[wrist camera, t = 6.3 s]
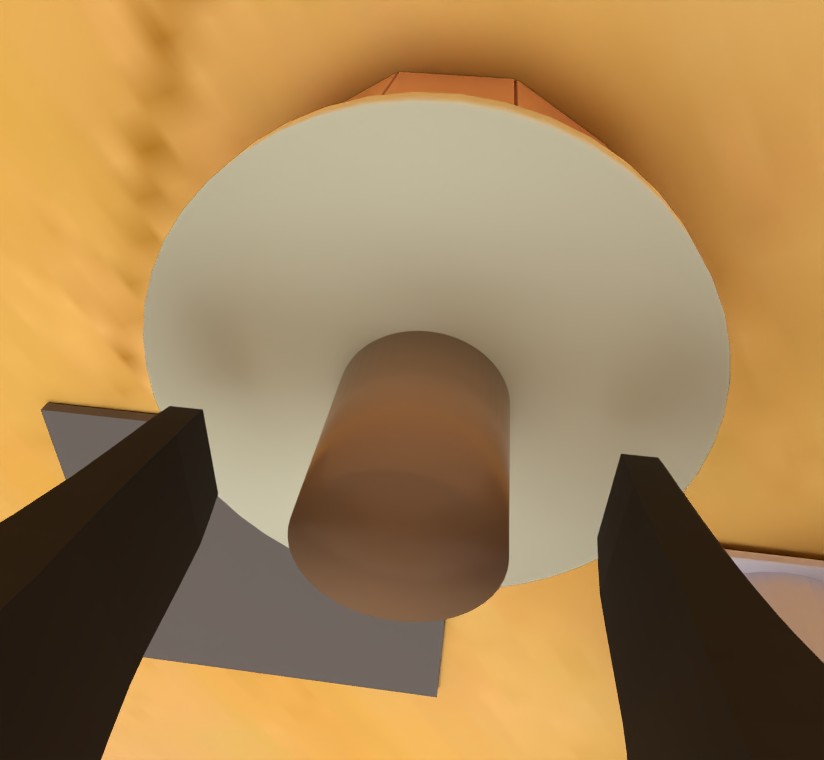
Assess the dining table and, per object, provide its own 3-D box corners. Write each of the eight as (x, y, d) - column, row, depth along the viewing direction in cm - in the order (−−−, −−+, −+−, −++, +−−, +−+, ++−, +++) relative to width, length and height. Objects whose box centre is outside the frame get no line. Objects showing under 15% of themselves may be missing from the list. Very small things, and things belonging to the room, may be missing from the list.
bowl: (681, 89, 15) (736, 148, 11) (595, 436, 21) (612, 549, 17) (243, 61, 16) (161, 108, 12) (277, 403, 22) (229, 504, 18)
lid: (826, 136, 11) (997, 261, 7) (629, 596, 18) (661, 786, 14) (115, 54, 12) (-85, 128, 8) (191, 529, 19) (105, 694, 15)
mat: (462, 447, 22) (462, 455, 21) (437, 688, 30) (436, 697, 29) (47, 402, 23) (40, 409, 22) (132, 647, 31) (128, 655, 30)
